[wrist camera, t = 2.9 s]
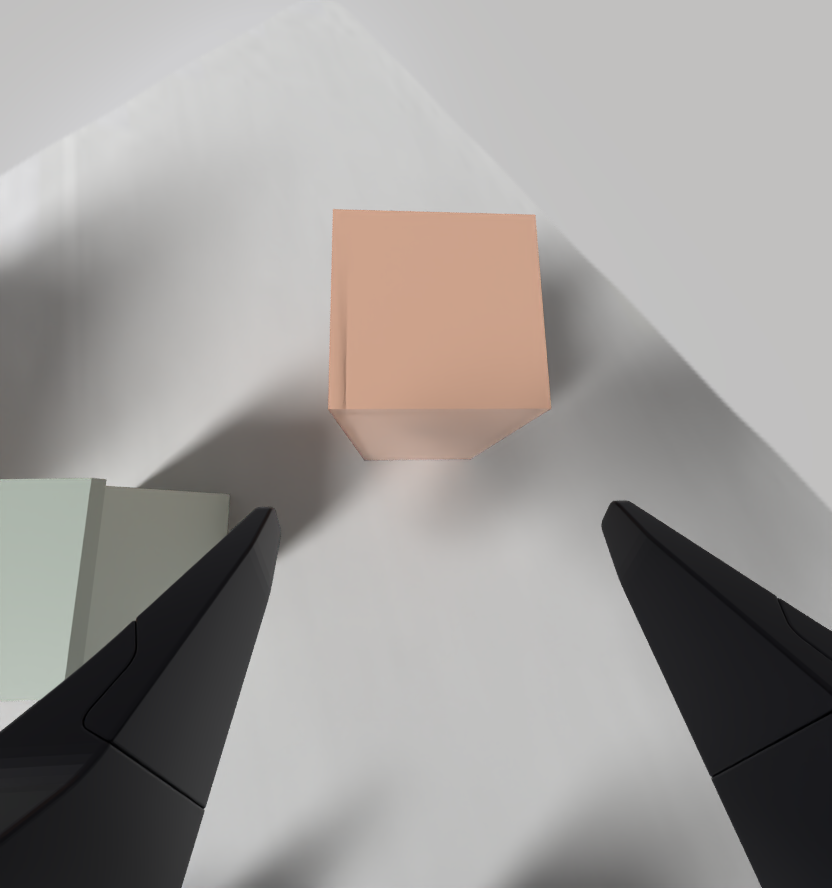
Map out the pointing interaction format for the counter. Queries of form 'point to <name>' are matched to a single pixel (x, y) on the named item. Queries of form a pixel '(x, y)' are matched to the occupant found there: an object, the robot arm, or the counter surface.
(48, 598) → the sage canister
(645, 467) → the counter surface
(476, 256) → the terracotta cover
